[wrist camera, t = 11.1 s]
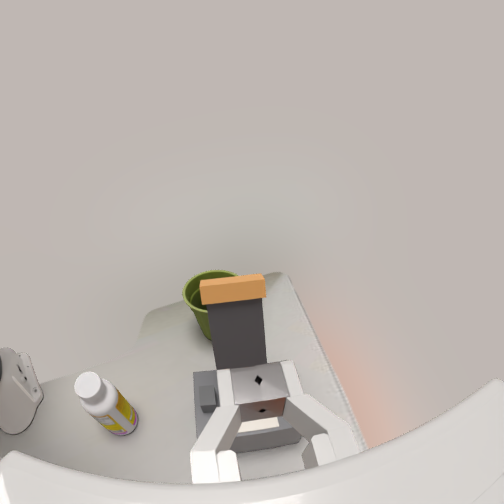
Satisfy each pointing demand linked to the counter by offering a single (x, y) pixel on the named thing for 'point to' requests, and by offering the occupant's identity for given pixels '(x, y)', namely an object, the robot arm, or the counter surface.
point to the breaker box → (250, 432)
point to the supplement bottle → (105, 403)
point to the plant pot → (194, 297)
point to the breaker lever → (236, 319)
